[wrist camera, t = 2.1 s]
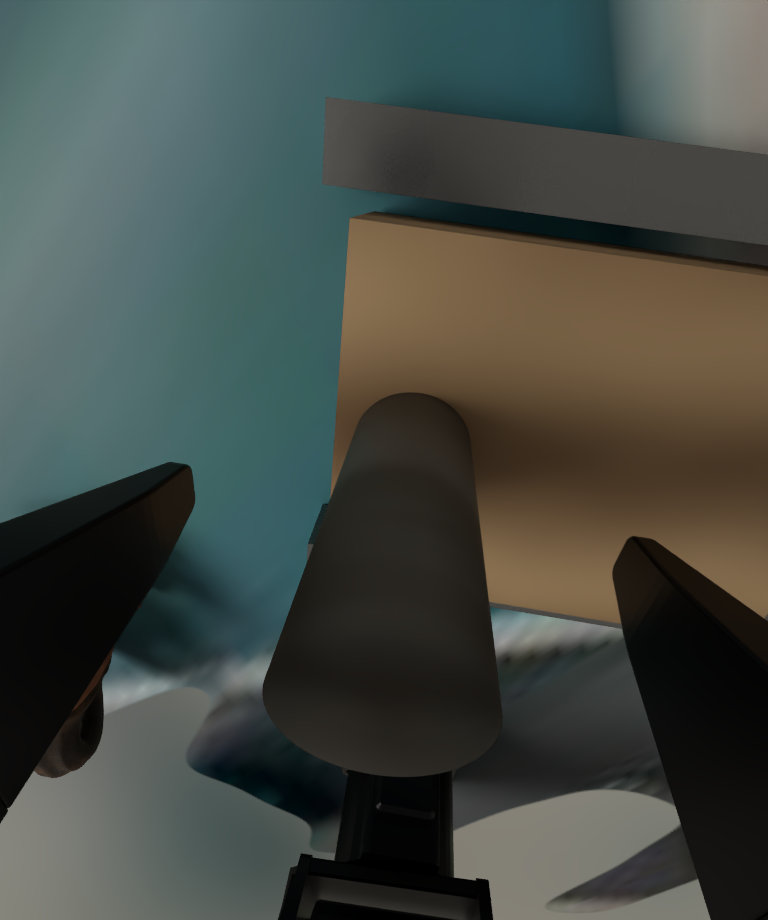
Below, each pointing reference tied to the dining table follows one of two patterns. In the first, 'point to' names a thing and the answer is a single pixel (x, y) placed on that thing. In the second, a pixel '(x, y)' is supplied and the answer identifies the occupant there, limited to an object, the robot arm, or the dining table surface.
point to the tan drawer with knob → (512, 469)
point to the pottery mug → (77, 731)
